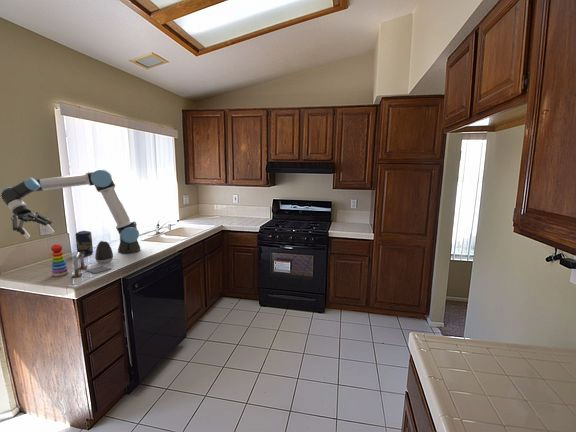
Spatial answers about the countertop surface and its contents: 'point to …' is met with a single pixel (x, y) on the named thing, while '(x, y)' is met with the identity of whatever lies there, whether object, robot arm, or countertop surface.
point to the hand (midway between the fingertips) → (41, 235)
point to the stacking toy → (58, 261)
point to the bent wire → (77, 265)
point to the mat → (98, 269)
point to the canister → (84, 242)
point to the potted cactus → (103, 253)
